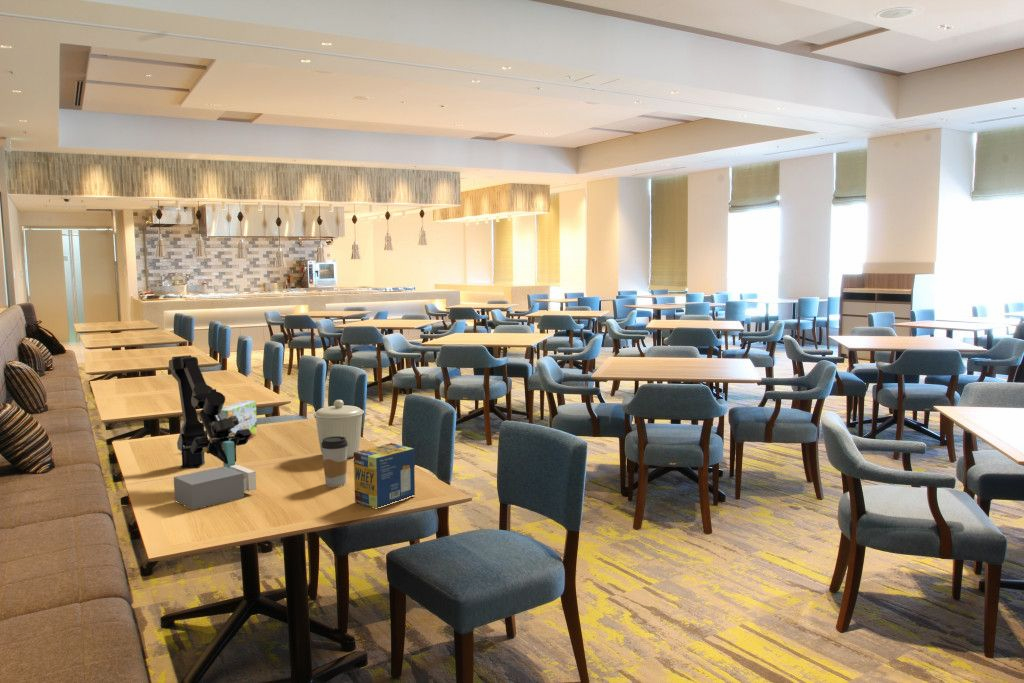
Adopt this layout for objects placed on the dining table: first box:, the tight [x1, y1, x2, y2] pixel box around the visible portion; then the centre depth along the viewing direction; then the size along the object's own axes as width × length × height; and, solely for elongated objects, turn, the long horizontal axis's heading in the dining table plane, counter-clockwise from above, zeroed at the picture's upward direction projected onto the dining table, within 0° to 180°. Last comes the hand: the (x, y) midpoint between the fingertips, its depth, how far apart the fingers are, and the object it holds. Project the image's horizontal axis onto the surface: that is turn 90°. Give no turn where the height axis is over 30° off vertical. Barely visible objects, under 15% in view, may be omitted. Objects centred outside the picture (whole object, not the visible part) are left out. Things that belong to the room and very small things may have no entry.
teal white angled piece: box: [222, 441, 257, 492], centre depth 238 cm, size 17×16×13 cm
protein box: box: [353, 442, 416, 509], centre depth 232 cm, size 10×15×16 cm
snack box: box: [219, 400, 258, 449], centre depth 307 cm, size 21×6×15 cm, turn 168°
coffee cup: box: [321, 436, 348, 488], centre depth 248 cm, size 8×8×15 cm
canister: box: [313, 399, 365, 459], centre depth 284 cm, size 18×18×21 cm
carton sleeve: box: [173, 465, 245, 510], centre depth 234 cm, size 16×12×8 cm
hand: (231, 462), depth 246 cm, fingers closed on teal white angled piece, 2 cm apart
